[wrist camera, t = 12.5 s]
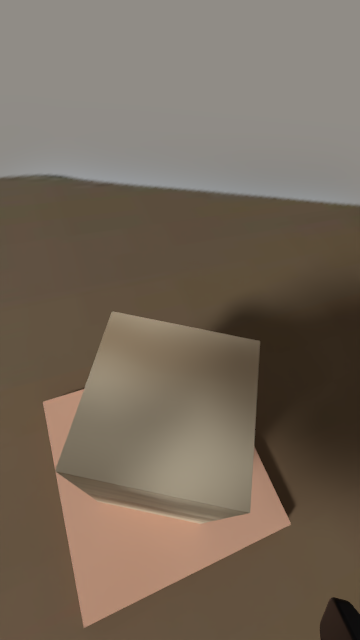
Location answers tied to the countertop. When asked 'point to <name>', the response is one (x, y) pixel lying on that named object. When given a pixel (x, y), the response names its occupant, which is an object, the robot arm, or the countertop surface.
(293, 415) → the countertop surface
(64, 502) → the terracotta tile
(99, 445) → the birch block
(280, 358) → the countertop surface
